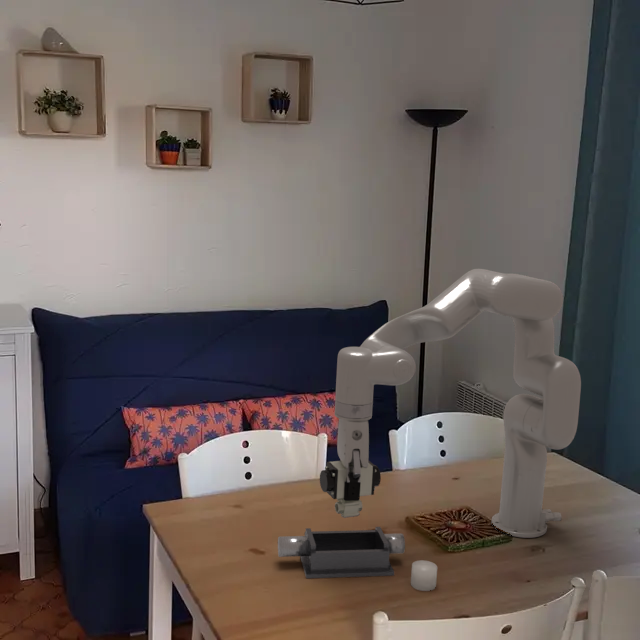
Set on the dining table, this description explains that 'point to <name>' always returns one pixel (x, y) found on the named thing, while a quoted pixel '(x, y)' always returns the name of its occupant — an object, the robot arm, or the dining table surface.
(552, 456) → the dining table surface
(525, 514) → the robot arm
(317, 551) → the pipe bracket
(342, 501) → the pneumatic valve
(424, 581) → the end cap
